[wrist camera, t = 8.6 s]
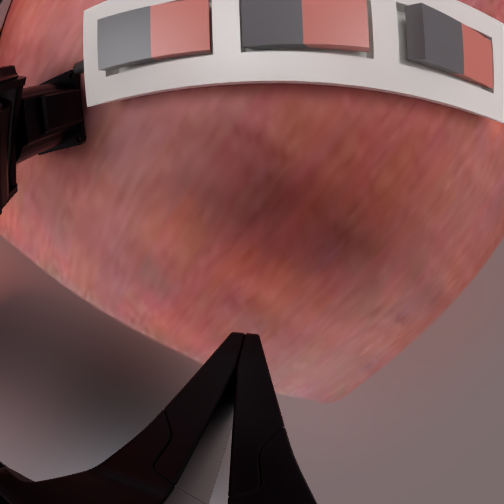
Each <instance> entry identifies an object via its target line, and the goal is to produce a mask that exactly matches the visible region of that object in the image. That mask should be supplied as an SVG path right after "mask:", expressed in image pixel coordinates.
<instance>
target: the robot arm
mask: <svg viewBox="0 0 504 504" xmlns="http://www.w3.org/2000/svg"><path fill="white" fill-rule="evenodd" d="M73 74H74V75H73ZM72 75H73V77H72ZM25 82H26V77H23V76H19V75H17V73H16V70H15V66H12V65H9V66H3V67H0V215H1V213H2V209H3V207H4V206H5V205H6V204H7V203H8V201H9V200H10V199H11V198H12V197H13V196H14V194H15V193H16V192H17V191H18V190H17V183H16V164H18V163H20V162H22V161H24V160H26V159H28V158H30V157H32V156H35V155H37V154H38V155H41V154H45V153H48V152H52V151H56V150H60V149H64V148H68V147H72V146H77V145H80V144H83V143H84V142H85V140H86V136H85V130H84V122H83V114H82V106H81V96H80V83H79V74H78V75H77V74H75V73H74V70H70V71H68V72H65V73H63V74H61V75H59V76H57V77H54V78H52V79H50V80H48V81H46V82H44V83H42V84H40V85H38V86H32V87H27V88H23V86H24V85H25ZM79 137H80V140H79ZM164 410H165V411H164ZM164 410H162V411H161V412H160V414H158V415H157V417H156V418H155V419H154V420H153V421H152V422H151V423H150V424H149V425H148V426H147V427H146V428H145V429H144V430H142V431H141V432H140V433H139V434H138V435H137V436H136V437H134V438H133V439H132V440H131V441H130V442H128V443H127V444H126V445H125V446H123V447H122V448H121V449H119V450H118V451H117V452H116V453H114V454H113V455H112V456H110V457H109V458H108V459H106V460H105V461H104V462H102V463H101V464H100V465H98V466H96V467H94V468H92V469H89V470H87V471H84V472H80V473H76V474H72V475H68V476H63V477H59V478H54V479H49V480H44V481H38V482H34V481H32V480H30V479H28V478H27V477H25V476H23V475H21V474H19V473H18V472H16V471H14V470H12V469H10V468H8V467H7V466H6V465H4V464H3V463H2V462H0V504H209V501H210V498H211V495H212V492H213V488H214V485H215V482H216V479H217V476H218V472H219V469H220V466H221V463H222V459H223V456H224V453H225V449H226V446H227V442H228V439H229V436H230V432H231V429H232V444H231V461H230V476H229V493H228V496H229V498H228V504H317V503H316V501H315V499H314V496H313V494H312V492H311V490H310V489H309V487H308V484H307V483H306V480H305V478H304V476H303V474H302V472H301V470H300V468H299V466H298V463H297V461H296V459H295V456H294V454H293V451H292V448H291V446H290V442H289V439H288V436H287V432H286V429H285V428H284V422H283V419H282V416H281V412H280V408H279V405H278V401H277V398H276V394H275V391H274V387H273V383H272V380H271V376H270V373H269V369H268V366H267V362H266V358H265V355H264V351H263V347H262V344H261V340H260V337H259V335H258V334H250V333H247V334H246V335H245V334H244V333H238V332H232V333H231V334H230V335H229V336H228V337H227V338H226V339H225V341H224V342H223V343H222V344H221V345H220V346H219V348H218V349H217V350H216V351H215V352H214V353H213V354H212V356H211V357H210V358H209V359H208V360H207V361H206V362H205V364H204V365H203V366H202V367H201V368H200V370H198V372H197V373H196V374H195V375H194V376H193V377H192V378H191V379H190V380H189V382H188V383H187V384H186V385H185V386H184V387H183V388H182V389H181V391H180V392H179V393H178V394H177V395H176V396H175V397H174V398H173V399H172V400H171V402H170V403H169V404H168V405H167V406H166V407H165V408H164ZM232 426H233V428H232Z"/></svg>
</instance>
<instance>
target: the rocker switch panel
mask: <svg viewBox="0 0 504 504" xmlns="http://www.w3.org/2000/svg"><path fill="white" fill-rule="evenodd" d="M175 1H182V0H107V1H105V2H102V3H100V4H98V5H95V6H93V7H91V8H89V9H87V10H85V11H84V20H83V55H84V60H82V61H80V62H77V63H75V64H74V67H73V70H74V73H75V74H77V75H78V74H81V73H83V72H84V77H85V90H86V101H87V107H91V106H95V105H100V104H105V103H111V102H116V101H121V100H126V99H130V98H135V97H140V96H145V95H150V94H156V93H162V92H168V91H175V90H182V89H190V88H198V87H208V86H219V85H234V84H259V83H290V84H315V85H329V86H340V87H350V88H358V89H366V90H373V91H380V92H386V93H391V94H397V95H402V96H407V97H412V98H417V99H421V100H425V101H429V102H433V103H437V104H441V105H445V106H448V107H452V108H455V109H459V110H462V111H465V112H468V113H471V114H474V115H477V116H481V117H484V118H488V119H491V120H494V121H497V122H500V123H503V124H504V24H503V23H501V22H499V21H498V20H496V19H494V18H492V17H490V16H488V15H486V14H485V13H483V12H481V11H479V10H477V9H474V8H472V7H470V6H468V5H466V4H464V3H461V2H459V1H457V0H366V2H367V14H368V30H369V52H362V51H352V50H340V49H320V48H280V49H260V50H252V49H248V48H245V47H243V43H242V16H241V0H209V17H210V47H211V53H209V54H199V55H189V56H181V57H174V58H168V59H161V60H156V61H150V62H145V63H140V64H135V65H131V66H126V67H122V68H118V69H114V70H110V71H102V70H98V49H97V20H98V19H101V18H104V17H108V16H111V15H115V14H118V13H122V12H126V11H130V10H134V9H138V8H142V7H147V6H152V5H157V4H163V3H169V2H175ZM417 3H423V4H426V5H428V6H430V7H432V8H434V9H436V10H438V11H440V12H442V13H444V14H446V15H448V16H450V17H452V18H454V19H456V20H457V21H459V22H461V23H463V24H464V25H466V26H468V27H470V28H471V29H473V30H474V31H476V32H478V33H479V34H481V35H482V36H484V37H485V38H487V39H488V40H490V41H491V47H492V66H493V89H492V88H487V87H482V86H477V85H475V84H472V83H470V82H468V81H466V80H463V79H461V78H459V77H456V76H454V75H451V74H449V73H446V72H443V71H441V70H438V69H435V68H432V67H430V66H427V65H424V64H421V63H417V62H414V61H411V60H408V51H407V30H406V17H405V7H404V6H408V5H412V4H417Z"/></svg>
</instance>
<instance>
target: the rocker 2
mask: <svg viewBox="0 0 504 504" xmlns="http://www.w3.org/2000/svg"><path fill="white" fill-rule="evenodd" d="M241 16H242V43H243V47H245V48H248V49H252V50H260V49H280V48H320V49H340V50H352V51H362V52H369V30H368V14H367V2H366V0H241Z"/></svg>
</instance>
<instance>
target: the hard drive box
mask: <svg viewBox="0 0 504 504" xmlns="http://www.w3.org/2000/svg"><path fill="white" fill-rule="evenodd" d="M11 1H12V0H0V32H1V29H2V26H3V23H4V20H5V17H6V14H7V11H8V8H9V6H10V3H11Z"/></svg>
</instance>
